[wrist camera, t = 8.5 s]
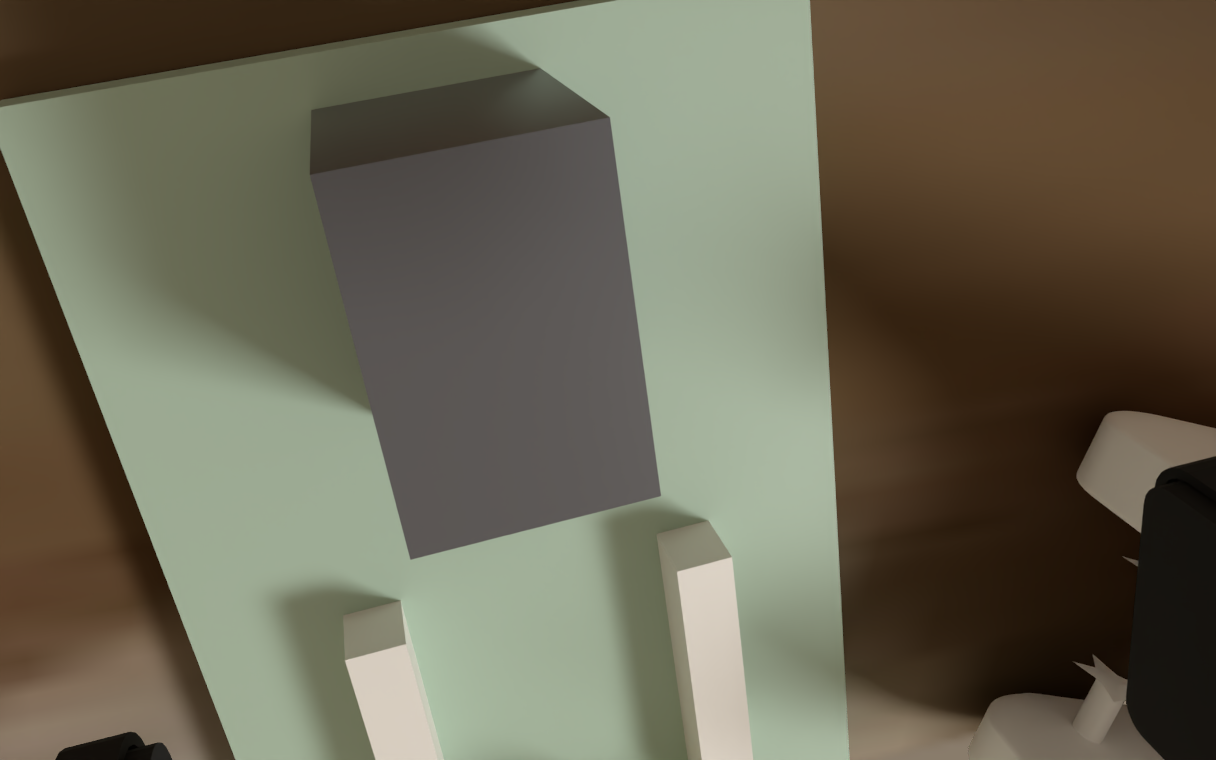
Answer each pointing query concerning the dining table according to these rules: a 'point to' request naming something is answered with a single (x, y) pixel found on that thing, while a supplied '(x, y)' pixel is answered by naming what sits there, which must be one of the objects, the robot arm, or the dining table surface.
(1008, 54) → the dining table surface
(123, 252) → the board
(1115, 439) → the cable organizer
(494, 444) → the plug
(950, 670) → the dining table surface
